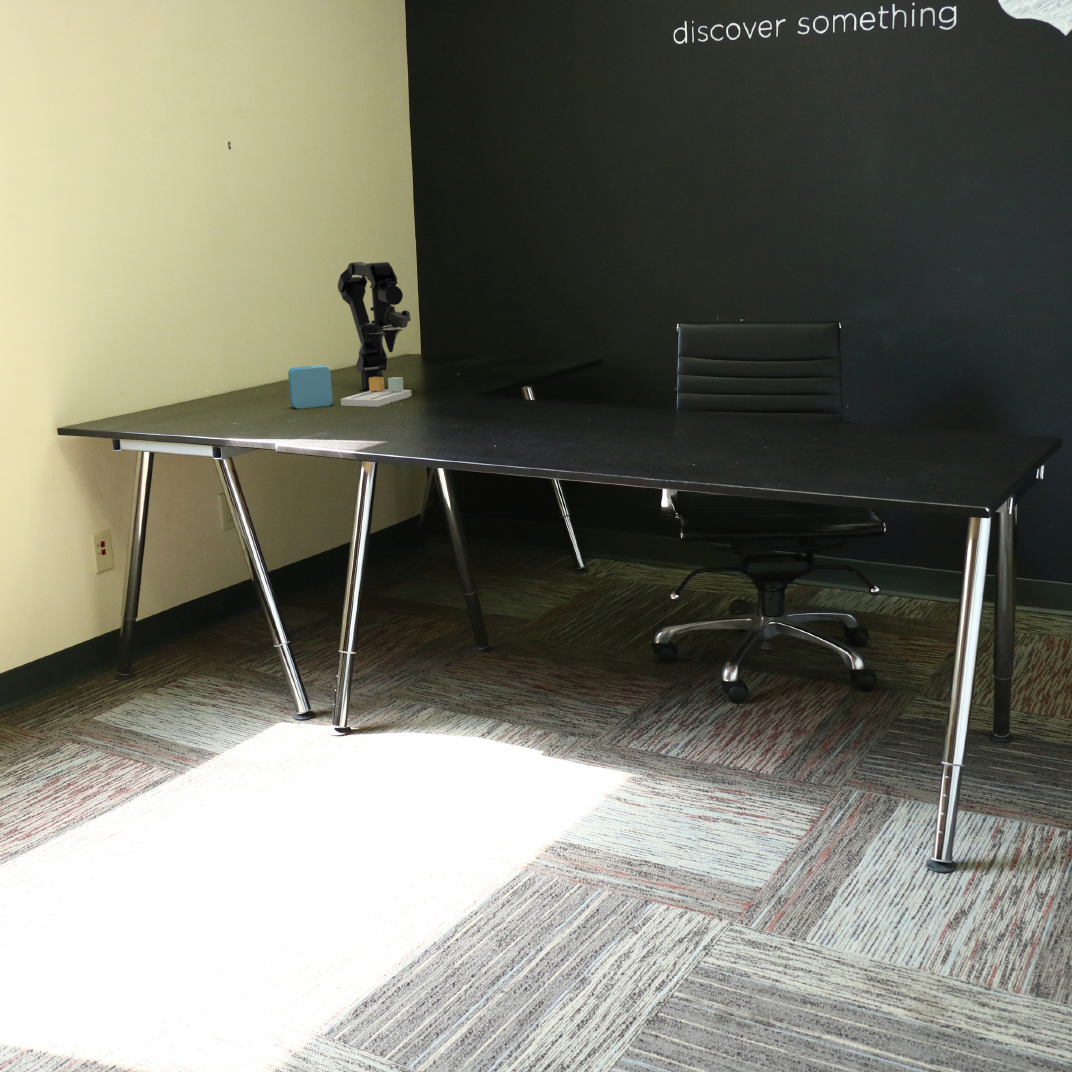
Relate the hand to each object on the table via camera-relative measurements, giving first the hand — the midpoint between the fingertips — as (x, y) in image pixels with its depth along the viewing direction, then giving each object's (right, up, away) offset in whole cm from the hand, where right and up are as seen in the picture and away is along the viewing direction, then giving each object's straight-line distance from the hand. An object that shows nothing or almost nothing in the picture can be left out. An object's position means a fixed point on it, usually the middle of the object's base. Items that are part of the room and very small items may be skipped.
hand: (385, 353), depth 371 cm
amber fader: (-2, -12, -3) cm, 13 cm away
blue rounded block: (-21, -19, -14) cm, 31 cm away
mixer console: (-2, -16, -9) cm, 18 cm away
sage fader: (+4, -13, -6) cm, 14 cm away
